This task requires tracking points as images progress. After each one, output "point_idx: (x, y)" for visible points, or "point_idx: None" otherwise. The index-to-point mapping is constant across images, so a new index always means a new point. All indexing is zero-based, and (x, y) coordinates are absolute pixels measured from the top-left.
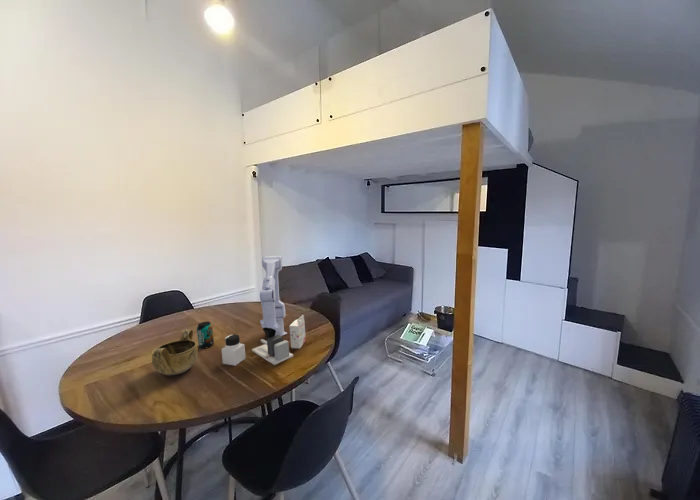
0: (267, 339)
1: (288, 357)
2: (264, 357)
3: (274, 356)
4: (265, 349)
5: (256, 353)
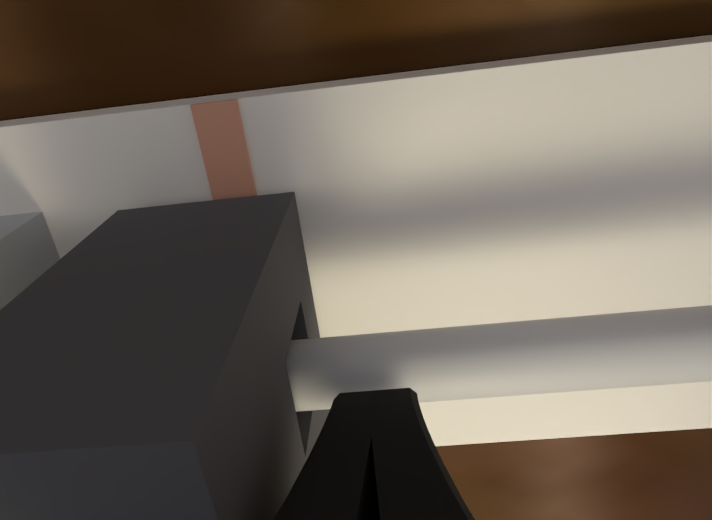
0: (142, 434)
1: None
2: (271, 92)
3: None
4: (569, 246)
5: (622, 46)
